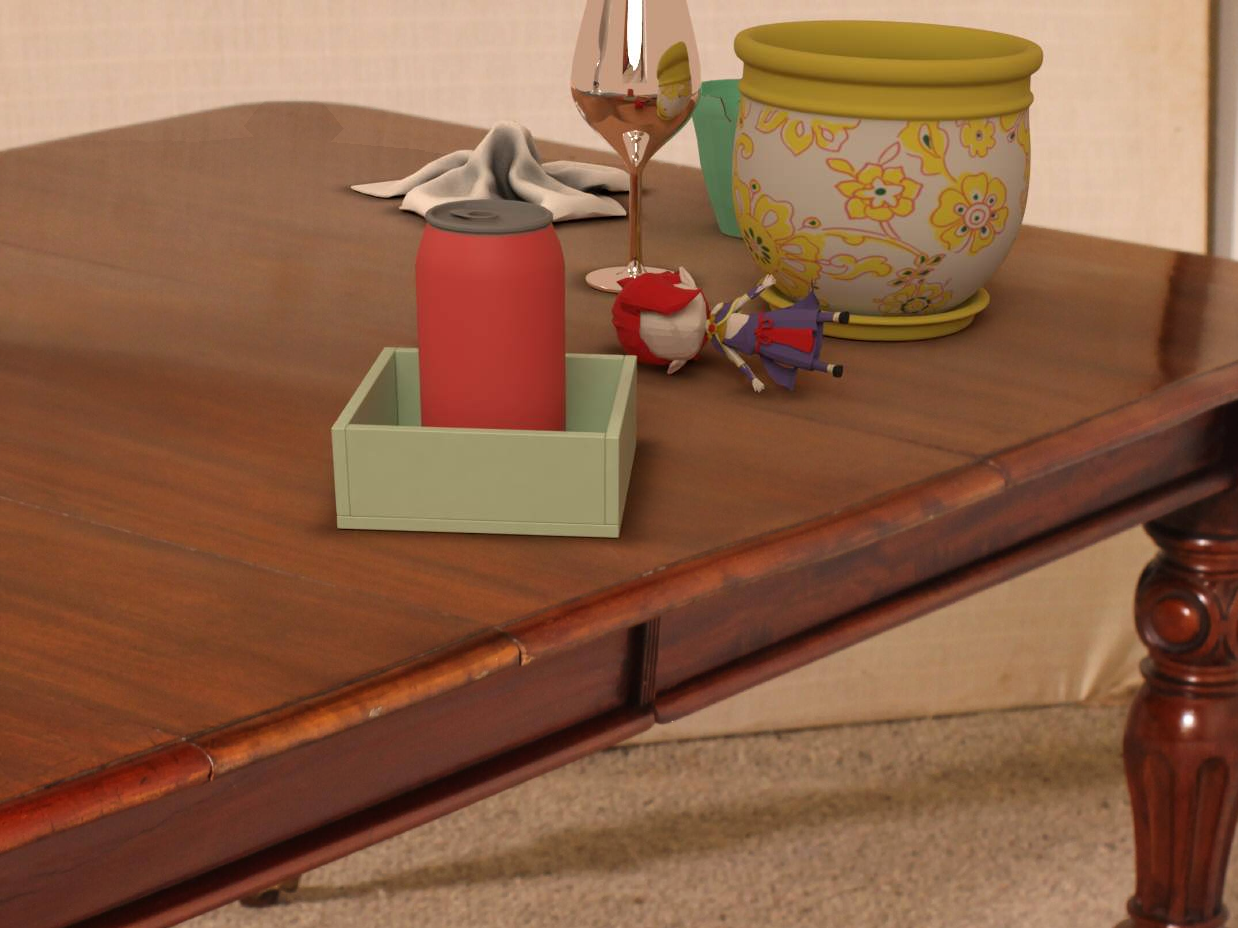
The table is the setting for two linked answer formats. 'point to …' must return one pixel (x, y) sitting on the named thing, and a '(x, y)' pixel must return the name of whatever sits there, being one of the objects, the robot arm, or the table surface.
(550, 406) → the beer can
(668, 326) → the figurine
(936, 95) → the flowerpot
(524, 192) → the cloth
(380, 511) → the tub
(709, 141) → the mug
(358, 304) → the table surface
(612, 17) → the wineglass
